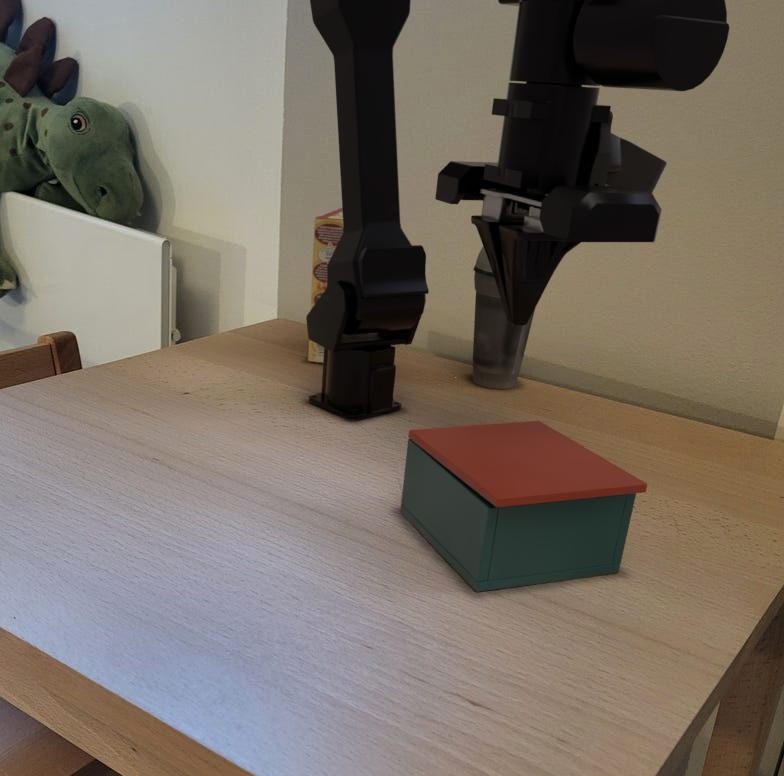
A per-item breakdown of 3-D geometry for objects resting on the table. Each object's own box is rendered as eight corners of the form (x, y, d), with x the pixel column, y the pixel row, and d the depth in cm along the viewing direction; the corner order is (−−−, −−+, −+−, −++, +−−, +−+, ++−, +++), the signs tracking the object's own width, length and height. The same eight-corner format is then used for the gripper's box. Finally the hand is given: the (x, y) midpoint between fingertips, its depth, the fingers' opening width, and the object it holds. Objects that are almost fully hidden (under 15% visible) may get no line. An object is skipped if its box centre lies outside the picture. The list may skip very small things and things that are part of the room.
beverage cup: (525, 374, 99) (555, 181, 91) (533, 396, 92) (567, 189, 84) (457, 369, 99) (481, 176, 91) (461, 390, 93) (488, 183, 85)
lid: (646, 492, 56) (648, 483, 56) (496, 508, 53) (497, 498, 52) (538, 428, 67) (539, 420, 66) (407, 437, 63) (408, 429, 63)
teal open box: (618, 573, 59) (636, 493, 57) (475, 592, 56) (488, 508, 54) (525, 499, 69) (538, 428, 67) (399, 512, 66) (407, 438, 63)
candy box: (342, 367, 98) (353, 220, 91) (305, 362, 99) (313, 215, 93) (364, 347, 105) (376, 210, 99) (329, 342, 106) (338, 206, 100)
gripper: (762, 97, 53) (700, 357, 59) (577, 86, 69) (544, 292, 75) (599, 87, 50) (552, 364, 56) (444, 78, 66) (421, 295, 72)
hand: (517, 324), depth 65 cm, fingers closed
